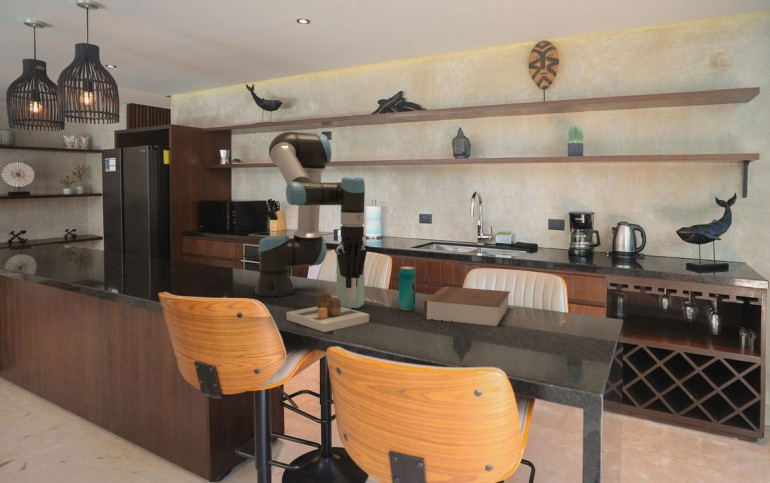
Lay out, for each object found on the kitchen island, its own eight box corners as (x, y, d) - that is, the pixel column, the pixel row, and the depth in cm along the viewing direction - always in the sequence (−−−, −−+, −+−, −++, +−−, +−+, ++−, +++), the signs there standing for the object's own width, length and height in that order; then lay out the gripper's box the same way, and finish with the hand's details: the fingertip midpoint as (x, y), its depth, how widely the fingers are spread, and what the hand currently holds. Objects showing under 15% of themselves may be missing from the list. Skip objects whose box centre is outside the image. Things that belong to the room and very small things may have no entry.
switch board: (286, 319, 167) (286, 302, 166) (330, 310, 179) (330, 295, 179) (324, 332, 152) (324, 314, 152) (369, 321, 165) (369, 305, 164)
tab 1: (317, 309, 169) (317, 294, 169) (324, 307, 172) (324, 293, 171) (323, 310, 167) (323, 295, 167) (330, 309, 169) (330, 294, 169)
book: (423, 320, 169) (423, 300, 169) (444, 303, 196) (444, 286, 195) (498, 328, 161) (499, 307, 160) (509, 309, 187) (510, 291, 186)
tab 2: (327, 314, 162) (327, 299, 162) (334, 313, 164) (334, 297, 164) (333, 316, 160) (333, 300, 160) (340, 314, 162) (340, 299, 162)
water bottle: (351, 301, 194) (351, 236, 191) (369, 306, 187) (370, 238, 184) (330, 305, 187) (330, 237, 184) (348, 310, 180) (348, 239, 177)
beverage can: (413, 311, 180) (414, 269, 178) (397, 310, 181) (398, 268, 179) (416, 307, 185) (416, 266, 184) (400, 306, 186) (400, 266, 185)
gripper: (344, 227, 157) (343, 302, 160) (375, 225, 166) (373, 296, 169) (329, 225, 163) (328, 298, 166) (359, 223, 172) (358, 292, 175)
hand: (351, 297), depth 168 cm, fingers closed
